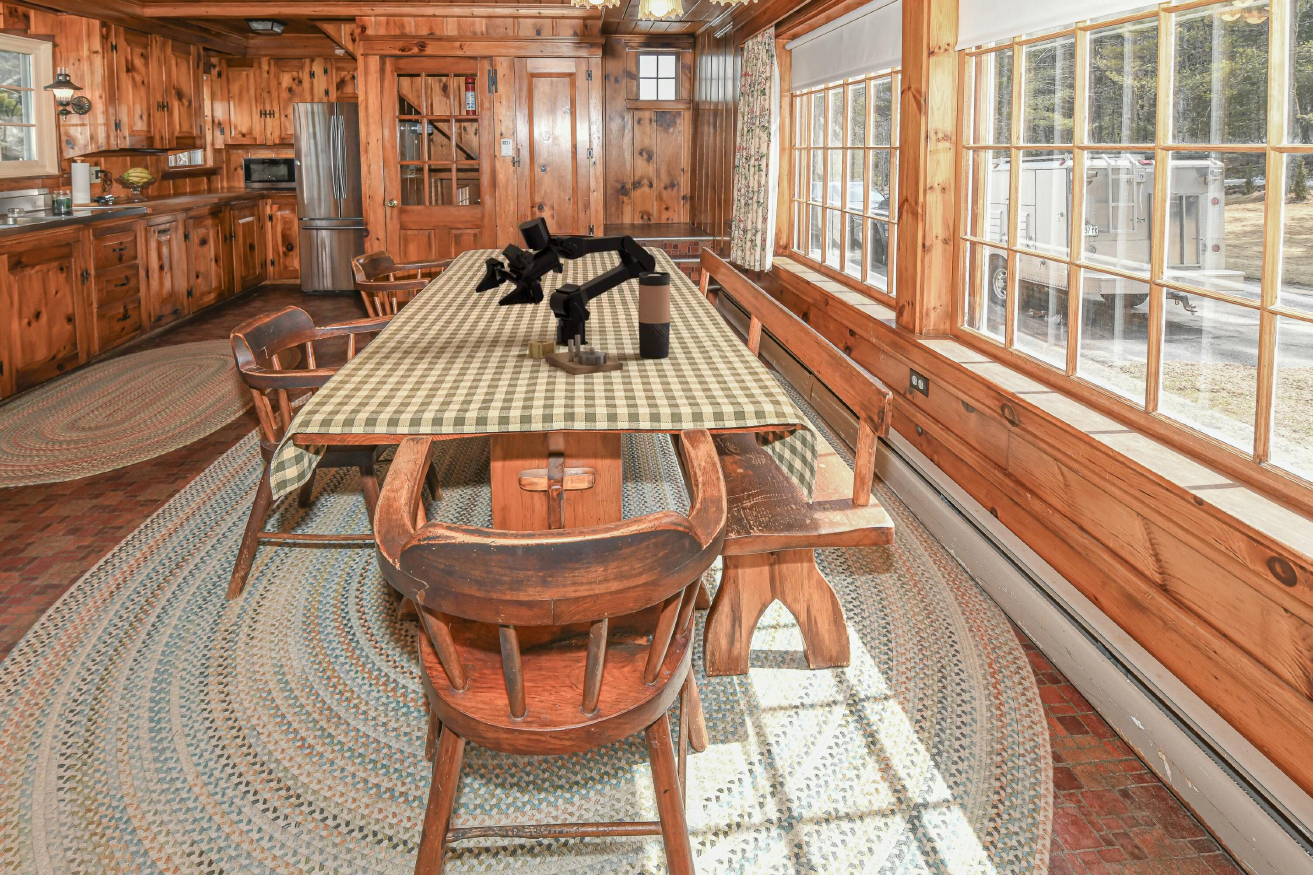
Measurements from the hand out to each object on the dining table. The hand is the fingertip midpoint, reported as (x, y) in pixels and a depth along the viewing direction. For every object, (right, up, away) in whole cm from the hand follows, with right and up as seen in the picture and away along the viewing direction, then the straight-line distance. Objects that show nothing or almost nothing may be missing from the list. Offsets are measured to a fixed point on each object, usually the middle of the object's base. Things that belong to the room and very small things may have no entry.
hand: (487, 297), depth 230 cm
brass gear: (+13, -14, +4) cm, 19 cm away
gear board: (+23, -17, -6) cm, 29 cm away
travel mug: (+40, -14, +4) cm, 43 cm away
